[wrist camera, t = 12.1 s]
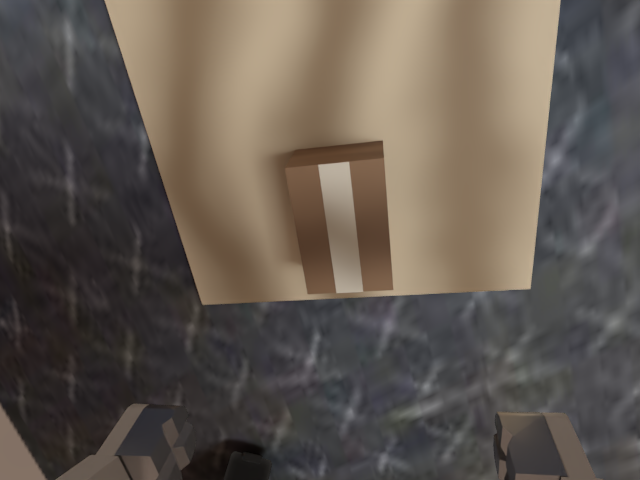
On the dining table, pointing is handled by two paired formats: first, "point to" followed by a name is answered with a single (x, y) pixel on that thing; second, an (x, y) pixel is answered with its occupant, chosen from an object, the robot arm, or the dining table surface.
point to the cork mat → (347, 130)
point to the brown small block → (341, 217)
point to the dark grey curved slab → (247, 467)
